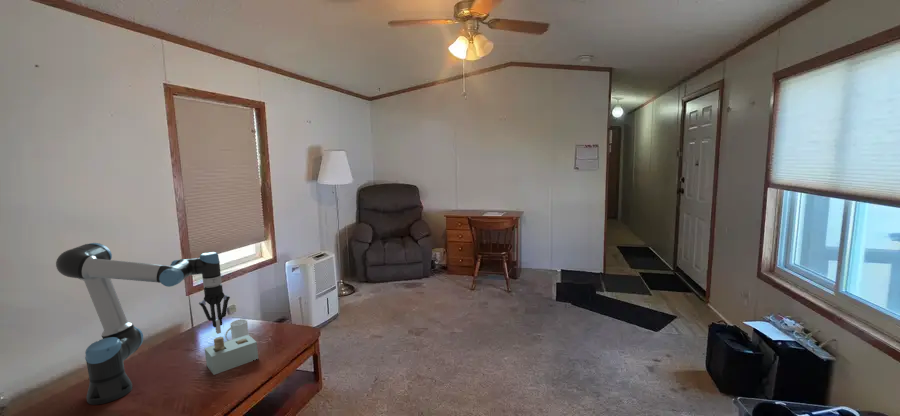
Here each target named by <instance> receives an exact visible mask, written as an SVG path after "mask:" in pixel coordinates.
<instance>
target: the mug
mask: <svg viewBox="0 0 900 416" xmlns="http://www.w3.org/2000/svg"><path fill="white" fill-rule="evenodd" d="M229 325H230V326H229V328H228V329H227V330H226V332H225V334H224V335H225V337H224V338H225V340H226V341H230V340H233V339H236V338H239V337H242V336H246V335H249V336H250V334H249V329H248V328H249V326H248V320H247V319H245V318H244V319H241V318H240V319H236V320H234V321H231V322H230V324H229ZM229 331H230V332H231V339H228V336H227V335H228V333H229Z"/></svg>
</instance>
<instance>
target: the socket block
mask: <svg viewBox="0 0 900 416" xmlns="http://www.w3.org/2000/svg"><path fill="white" fill-rule="evenodd" d="M241 339H246V342H245V343H242V344H239V345H238V343H237V341H238V340H241ZM229 340H230V341H227V340H226V341H224V348H225V349H224V350H221V351H218V352H215V346H214V345H210V346H208V347H205V348H204V352H205V353H204V354H205V363H206V367H207V368H208V369H209V371H210V372H211V373H212V375H217V374H220V373H223V372H226V371H228V370H232V369H234V368H237V367H239V366H240V367H241V366H242V365H246V364H248V363H250V362H251V363H252V362H254V361H257V360H259V352H258V342H257V341H256V340H255V339H254V338H253V337H252V336H250V334H249V335H246V336H242V337H239V338H236V339H233V340H232V339H229ZM256 359H257V360H256ZM253 360H254V361H253Z"/></svg>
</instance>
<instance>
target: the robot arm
mask: <svg viewBox="0 0 900 416" xmlns="http://www.w3.org/2000/svg"><path fill="white" fill-rule="evenodd" d="M112 256H113V254H112V252H111V250H110V248H109V247H108V246H107V245H104V244H102V243H100V242H99V243H98V242H91V243H85V244H82V245H79V246H76V247H74V248H71V249H67V250H65V251H63V252H62V253H60V255H59V256H58V257H57V259H56V261H55V267H56V270H57V272H59V273H60V274H61V275H63V276H64V277H68V278H72V279H73V278H74V279H78V280H81V281H83V282H84V284H85V287H86V289H87V291H88V294H89V295H90V299H91V301H92V303H93V306H94V308H95V311H96V314H97V315H98V316H97V317H98V318H99V322H100V323H101V326H102V328H103V331H102V333H101V334H100V335H101V337H102V338H101V339H99V340H96V341H94V342H93V343H91V344H89V345H88V346H87V348H86V350H85V356H84V357H85V358H84V359H85V362H86V367H87V368H86V369H87V372H88V373H87V374H88V378H89V379H88V380H89V386H88V389H87V392H86V403H87V404H89V405H102V404H103V405H104V404H108V403H110V402H114V401H117V400H118V399H121V398H123V397H125V396H127V395H128V394H129V393H130V392H131V391H132V389H133V382H132V380H131V379H130V377H129V376H128V374H127V373H126V371H125V365H124V364H125V363H124V361H125V360H126V359H128V358H129V357H130V356H131V355H132V354H134V353H135V352H136V351H137V350H138V349H140V347H141V345H142V344H143V341H144V332H142V330H141V329H140V328H138V327H137V326H135V325H134V323H133V322H130V321H128V320H127V317H126V314H125V311H124V309H123V307H122V304H121V302H120V299H119V297H118V294H117V291H116V289H115V286H114V284H113V281H112V279H113V280H123V281H125V280H126V281H136V282H148V283H159V284H161V285H163V286H165V287H167V288H168V287H169V288H170V287H174V286H177V285H178V284H180V283H181V282H182V281H184V280H185V279H186V278H188V277H189V276H194V275H202V276H201V277H202V278H201V279H202V285H203V292H204V293H203V294H204V297H203V300H202V301H200V302H199V303H198V304H199V305H200V307H201V309H202V310H203V313H204V314H205V317H206V319H207V320H208V321H209V322H212V327H214V328H215V333H216V334H222V330H221V329H222V328H221V326H222V325H223V318H225V317H227V312H228V305H229V301H230V298H231V297H230V296H229V295H228V294H227V295H225V293H224V291H223V284H222V282H223V281H222V273H221V266H220V263H221V262H220V258H219V253H218V252H215V251H209V252H203V253H201V254H200V255H199V257H195V258H186V259H185V258H181V259H175V260H173V261H171V263H170V265H165V264H155V263H145V262H134V261H123V260H115V259H114V260H113V259H112V258H113V257H112ZM222 300H223V304H222V305H221V302H222ZM206 303H207V304H208V305H209V308H210V313H209V311H208V308H207V306H206ZM221 306H222V308H221ZM215 307H216V308H215ZM216 314H217V315H216ZM216 316H217V318H216Z"/></svg>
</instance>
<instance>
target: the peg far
mask: <svg viewBox="0 0 900 416" xmlns="http://www.w3.org/2000/svg"><path fill="white" fill-rule="evenodd" d="M245 342H246V339H241V340H238V341H237V343H238V345H239V344H242V343H245Z"/></svg>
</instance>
